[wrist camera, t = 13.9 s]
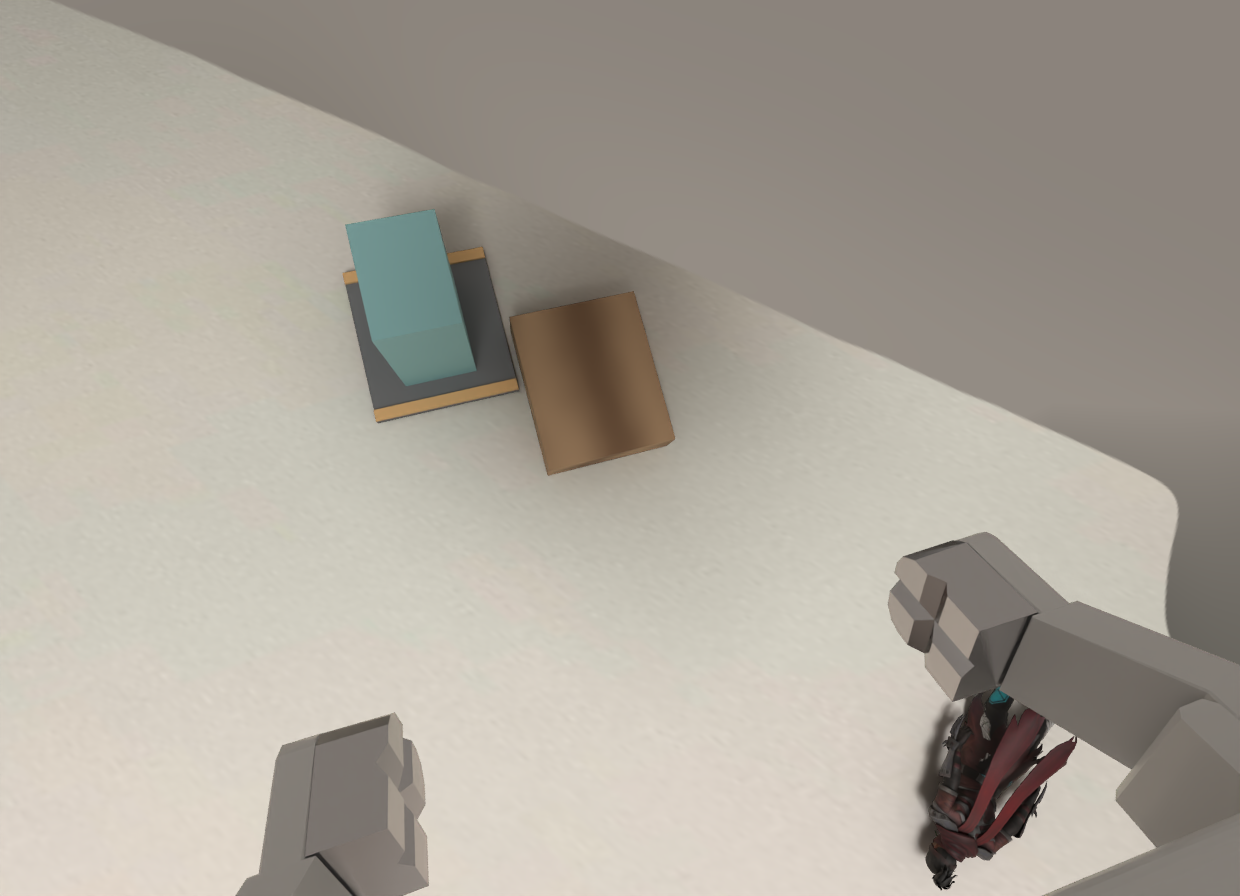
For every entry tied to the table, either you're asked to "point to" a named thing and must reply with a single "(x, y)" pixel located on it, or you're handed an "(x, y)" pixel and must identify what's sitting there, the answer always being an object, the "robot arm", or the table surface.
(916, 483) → the table surface
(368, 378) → the mat
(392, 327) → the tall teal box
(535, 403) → the block
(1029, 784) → the action figure
